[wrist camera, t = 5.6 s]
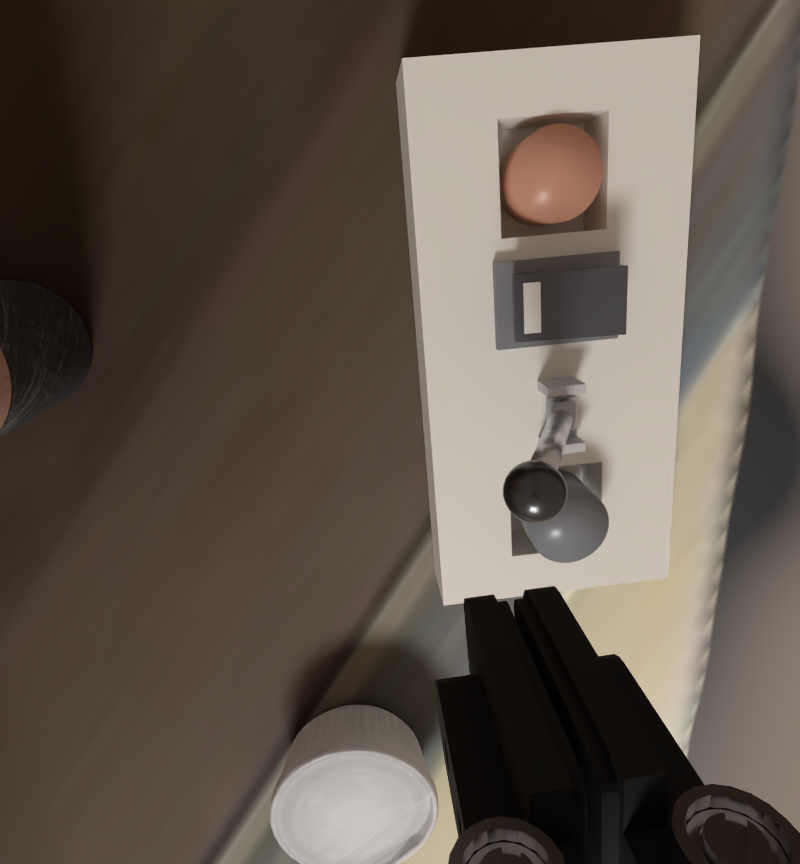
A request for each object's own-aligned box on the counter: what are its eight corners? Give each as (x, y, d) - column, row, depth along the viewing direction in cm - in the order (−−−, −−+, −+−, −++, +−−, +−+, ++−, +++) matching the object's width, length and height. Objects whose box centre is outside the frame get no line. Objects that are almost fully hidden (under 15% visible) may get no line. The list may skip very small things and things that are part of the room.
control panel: (395, 82, 30) (405, 44, 24) (657, 62, 31) (723, 19, 25) (434, 570, 39) (448, 623, 33) (637, 546, 39) (683, 594, 34)
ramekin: (402, 820, 45) (408, 890, 40) (262, 794, 43) (250, 865, 38) (450, 707, 42) (462, 768, 37) (302, 675, 41) (294, 734, 36)
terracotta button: (495, 140, 30) (511, 127, 27) (578, 132, 30) (603, 119, 27) (498, 229, 31) (514, 226, 28) (577, 222, 31) (601, 218, 28)
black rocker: (512, 274, 28) (514, 275, 27) (621, 264, 28) (628, 265, 27) (514, 338, 29) (516, 342, 28) (619, 330, 29) (626, 334, 28)
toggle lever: (540, 390, 32) (495, 472, 21) (586, 390, 31) (563, 476, 20) (541, 432, 32) (498, 531, 22) (586, 433, 31) (564, 537, 21)
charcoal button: (513, 473, 34) (529, 494, 31) (586, 464, 34) (609, 485, 31) (515, 539, 35) (530, 567, 32) (586, 531, 35) (608, 558, 32)
